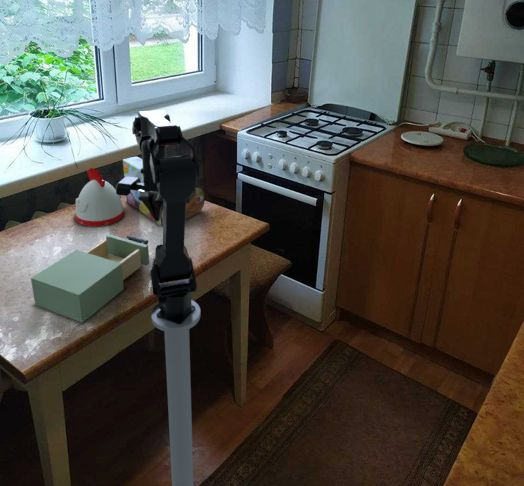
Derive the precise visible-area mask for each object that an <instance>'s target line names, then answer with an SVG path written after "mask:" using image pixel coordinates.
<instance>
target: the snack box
mask: <svg viewBox="0 0 524 486" xmlns="http://www.w3.org/2000/svg"><path fill="white" fill-rule="evenodd" d="M122 167H123V176H124V177H123V179H124V178H125V177H126V176H128V177H137V178H139V179H140V180H141V183H144V180H143V174H142V173H141V171H140V169H142V168H143V163H142V158H141V157H138V156H132V157H127V158H123V159H122ZM125 197H126V202H127V203H128V204H130V206H133V207H134V208H135V209H137V210H138V211H140V212H141V213H142V214H144V215H145V216H146V217H148V218H149V219H150V220H152V221H153V222H154V223H156V224H157V225H158V226H163V212H162V215H161V218H160V220H159V221H155V220H154V218H153V216H152V215H151V213H150V212H149V210H148V209H147V207H146V206H145V205H144V203H143V202H142V201H140V200H138V197H140V194H139V192H138V191H136V190H131V193H130V194H129V195H127V196H125ZM157 198H158V196H157Z"/></svg>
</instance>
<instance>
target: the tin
mask: <svg viewBox="0 0 524 486" xmlns="http://www.w3.org/2000/svg"><path fill="white" fill-rule="evenodd" d="M205 202H206V194H205V191H204V190H203V188H201V187H196V195H195V196H194V198H193V199H192V200H191V201H190V202H189V203H186V218H185V221H187V220H188V219H189V218H191V217H193V216H195V215H196V214H199V213H200V212H201V210H203V207H204V206H205Z"/></svg>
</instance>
